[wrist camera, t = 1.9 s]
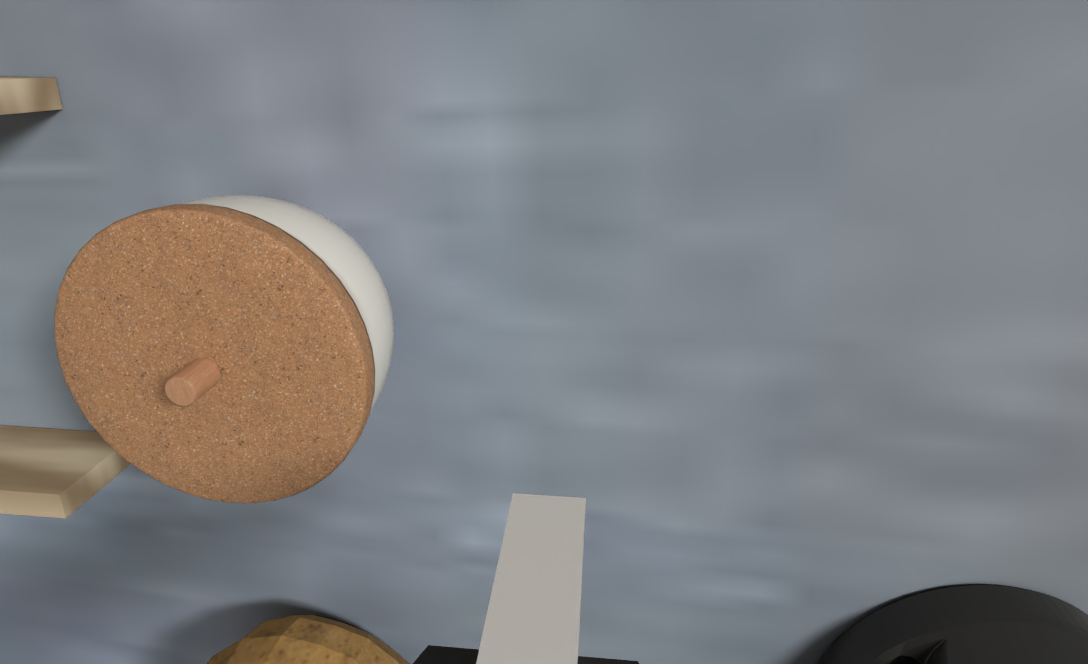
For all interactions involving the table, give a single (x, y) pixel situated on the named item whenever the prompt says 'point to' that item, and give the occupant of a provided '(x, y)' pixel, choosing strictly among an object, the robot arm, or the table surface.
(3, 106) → the bay
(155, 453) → the lidded jar
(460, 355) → the table surface
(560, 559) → the robot arm
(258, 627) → the potato
